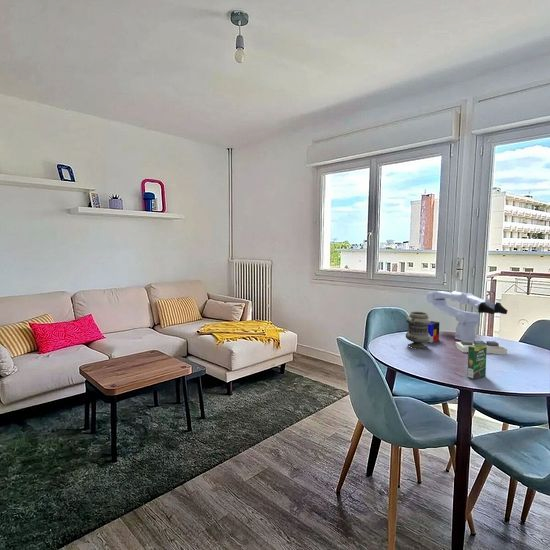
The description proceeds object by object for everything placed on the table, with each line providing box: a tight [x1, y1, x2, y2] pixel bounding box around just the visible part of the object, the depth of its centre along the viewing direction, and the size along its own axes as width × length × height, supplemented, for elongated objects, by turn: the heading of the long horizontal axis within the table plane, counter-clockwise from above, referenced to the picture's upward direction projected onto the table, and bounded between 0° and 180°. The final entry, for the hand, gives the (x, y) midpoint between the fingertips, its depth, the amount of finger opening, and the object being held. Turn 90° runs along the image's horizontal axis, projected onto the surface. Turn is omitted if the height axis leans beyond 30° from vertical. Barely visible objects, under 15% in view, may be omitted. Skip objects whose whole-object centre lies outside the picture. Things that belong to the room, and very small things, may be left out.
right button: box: [485, 340, 500, 347], centre depth 178 cm, size 4×4×2 cm
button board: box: [455, 341, 508, 355], centre depth 178 cm, size 20×10×3 cm, turn 81°
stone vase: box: [405, 310, 432, 350], centre depth 183 cm, size 12×12×18 cm
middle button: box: [473, 340, 487, 345], centre depth 179 cm, size 4×4×2 cm
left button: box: [460, 340, 474, 345], centre depth 180 cm, size 4×4×2 cm
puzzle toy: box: [427, 320, 440, 343], centre depth 198 cm, size 10×10×10 cm
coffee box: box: [466, 343, 487, 380], centre depth 141 cm, size 8×3×13 cm, turn 117°
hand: (500, 312), depth 175 cm, fingers open, 7 cm apart
